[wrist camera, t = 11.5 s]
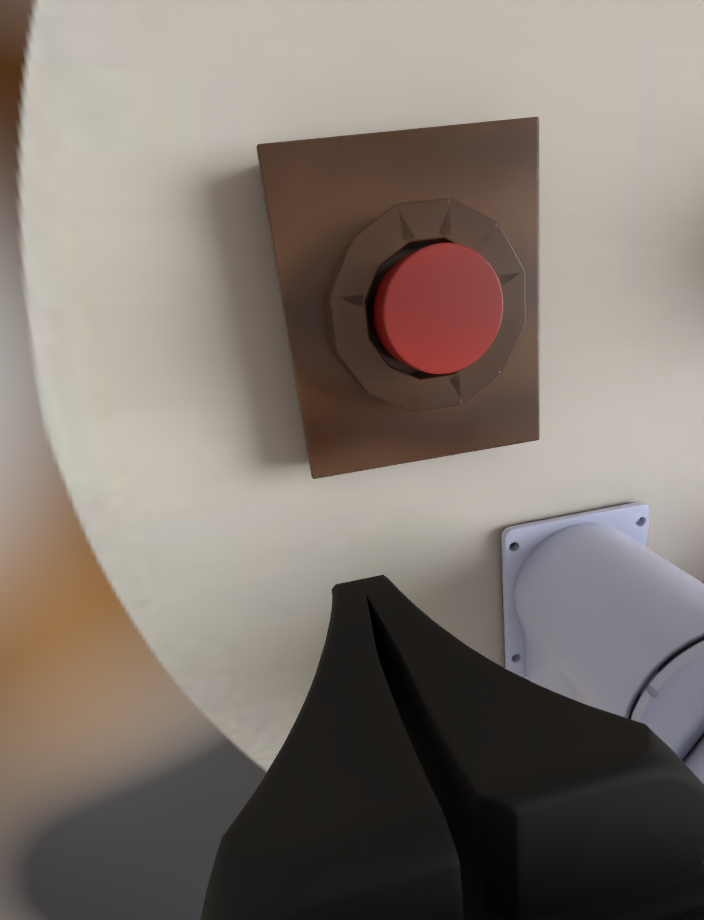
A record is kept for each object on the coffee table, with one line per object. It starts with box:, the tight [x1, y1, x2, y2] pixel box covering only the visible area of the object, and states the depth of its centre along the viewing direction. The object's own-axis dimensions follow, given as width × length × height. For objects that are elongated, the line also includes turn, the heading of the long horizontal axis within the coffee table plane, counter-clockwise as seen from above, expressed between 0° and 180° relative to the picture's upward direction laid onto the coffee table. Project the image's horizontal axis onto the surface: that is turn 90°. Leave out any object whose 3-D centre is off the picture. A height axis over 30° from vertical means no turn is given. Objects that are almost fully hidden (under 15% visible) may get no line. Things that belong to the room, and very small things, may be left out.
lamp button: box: [373, 243, 504, 374], centre depth 15 cm, size 4×4×2 cm
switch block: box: [257, 117, 539, 479], centre depth 18 cm, size 12×10×4 cm
